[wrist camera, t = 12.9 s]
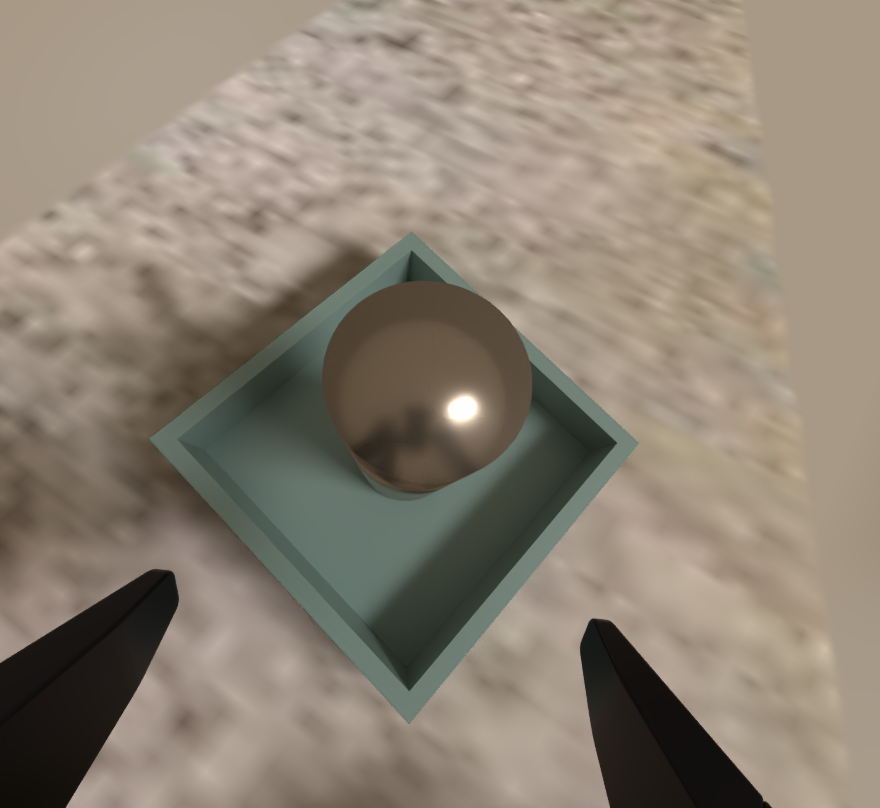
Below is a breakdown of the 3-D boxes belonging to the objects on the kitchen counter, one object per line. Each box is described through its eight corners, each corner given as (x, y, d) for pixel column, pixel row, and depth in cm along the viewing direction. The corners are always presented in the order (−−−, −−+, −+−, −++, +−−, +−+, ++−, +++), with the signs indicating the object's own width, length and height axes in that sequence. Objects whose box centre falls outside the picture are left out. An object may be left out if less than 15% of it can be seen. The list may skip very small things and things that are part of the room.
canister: (405, 521, 22) (430, 530, 9) (338, 451, 22) (275, 370, 10) (472, 453, 23) (573, 379, 10) (407, 388, 23) (430, 244, 11)
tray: (405, 687, 20) (409, 724, 17) (188, 452, 22) (148, 438, 18) (601, 454, 25) (639, 443, 21) (408, 271, 26) (411, 231, 23)
